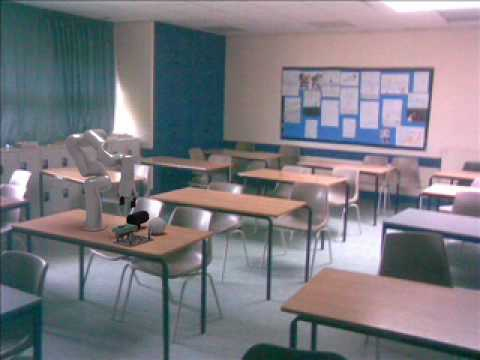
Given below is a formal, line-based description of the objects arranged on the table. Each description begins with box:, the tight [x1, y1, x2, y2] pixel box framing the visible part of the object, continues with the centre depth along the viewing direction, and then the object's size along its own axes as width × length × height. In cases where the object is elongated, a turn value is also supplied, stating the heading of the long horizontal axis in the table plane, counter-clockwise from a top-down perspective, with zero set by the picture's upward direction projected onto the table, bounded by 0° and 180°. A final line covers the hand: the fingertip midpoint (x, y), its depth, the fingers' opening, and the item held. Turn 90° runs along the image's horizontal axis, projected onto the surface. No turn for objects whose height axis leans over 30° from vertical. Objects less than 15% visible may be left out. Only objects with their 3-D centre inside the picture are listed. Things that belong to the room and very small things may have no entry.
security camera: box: [125, 210, 150, 231], centre depth 328 cm, size 7×18×10 cm, turn 158°
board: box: [111, 222, 136, 234], centre depth 312 cm, size 12×7×4 cm, turn 147°
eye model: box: [148, 216, 167, 235], centre depth 318 cm, size 10×10×10 cm
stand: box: [115, 230, 134, 239], centre depth 313 cm, size 10×4×3 cm, turn 147°
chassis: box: [113, 225, 154, 248], centre depth 301 cm, size 18×13×7 cm
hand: (127, 206), depth 309 cm, fingers open, 9 cm apart
